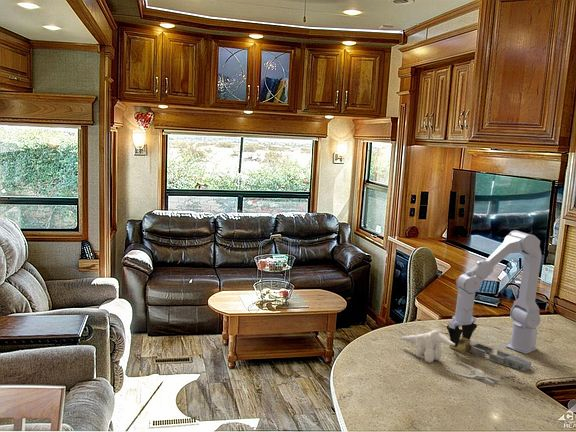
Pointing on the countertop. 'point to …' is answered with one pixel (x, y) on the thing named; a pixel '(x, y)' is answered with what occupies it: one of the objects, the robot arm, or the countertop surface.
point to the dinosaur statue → (428, 344)
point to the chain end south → (479, 349)
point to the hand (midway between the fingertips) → (459, 344)
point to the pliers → (478, 376)
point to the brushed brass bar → (462, 345)
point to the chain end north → (510, 361)
